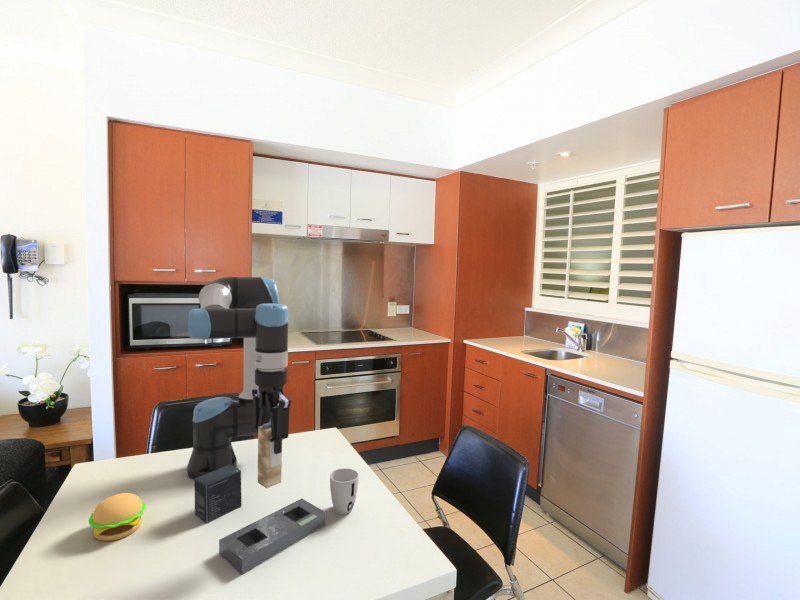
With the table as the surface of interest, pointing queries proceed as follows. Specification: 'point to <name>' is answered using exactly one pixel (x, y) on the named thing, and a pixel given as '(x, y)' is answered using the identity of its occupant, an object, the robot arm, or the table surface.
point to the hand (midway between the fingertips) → (269, 461)
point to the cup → (343, 489)
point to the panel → (270, 535)
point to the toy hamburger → (117, 516)
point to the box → (217, 493)
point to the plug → (266, 459)
